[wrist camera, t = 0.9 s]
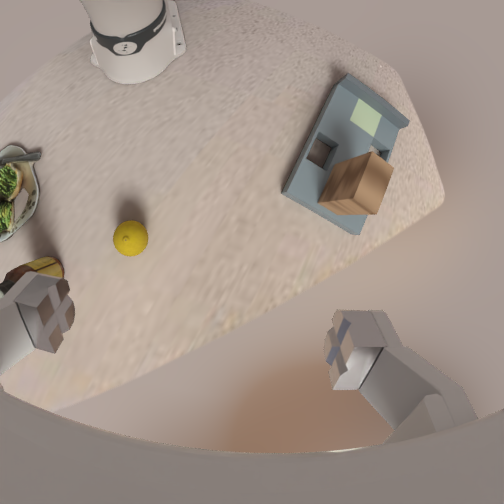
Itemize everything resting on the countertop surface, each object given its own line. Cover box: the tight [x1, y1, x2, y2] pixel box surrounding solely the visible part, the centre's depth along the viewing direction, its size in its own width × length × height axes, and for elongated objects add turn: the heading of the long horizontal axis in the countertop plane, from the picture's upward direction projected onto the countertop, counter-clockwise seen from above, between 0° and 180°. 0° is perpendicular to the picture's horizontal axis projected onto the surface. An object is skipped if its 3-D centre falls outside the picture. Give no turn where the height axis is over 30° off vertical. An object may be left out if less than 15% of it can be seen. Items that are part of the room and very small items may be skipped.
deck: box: [281, 73, 409, 235], centre depth 51 cm, size 26×16×6 cm, turn 153°
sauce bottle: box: [0, 256, 64, 298], centre depth 35 cm, size 7×6×20 cm
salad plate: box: [0, 145, 41, 242], centre depth 39 cm, size 19×18×5 cm
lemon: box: [113, 220, 148, 256], centre depth 43 cm, size 6×6×8 cm
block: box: [318, 151, 394, 215], centre depth 45 cm, size 8×4×12 cm, turn 153°
